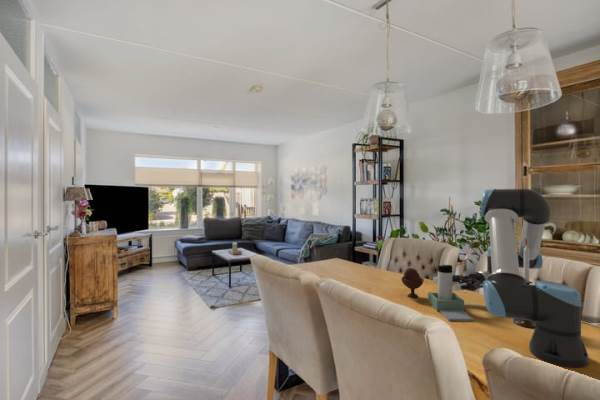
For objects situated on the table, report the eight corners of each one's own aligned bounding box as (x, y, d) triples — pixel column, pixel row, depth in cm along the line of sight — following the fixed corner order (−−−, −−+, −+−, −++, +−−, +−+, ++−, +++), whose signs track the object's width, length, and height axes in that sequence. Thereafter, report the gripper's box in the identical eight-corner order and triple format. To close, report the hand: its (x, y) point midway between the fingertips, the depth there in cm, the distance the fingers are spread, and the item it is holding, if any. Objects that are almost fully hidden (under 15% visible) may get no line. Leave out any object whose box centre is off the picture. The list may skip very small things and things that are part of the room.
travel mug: (444, 310, 148) (444, 266, 148) (435, 305, 155) (434, 263, 154) (456, 308, 150) (455, 265, 149) (446, 303, 156) (445, 262, 156)
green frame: (464, 311, 146) (464, 300, 146) (436, 311, 147) (436, 300, 147) (453, 302, 158) (453, 292, 158) (428, 302, 159) (428, 292, 158)
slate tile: (473, 321, 135) (473, 318, 135) (448, 320, 136) (448, 318, 136) (462, 312, 145) (462, 310, 145) (440, 312, 146) (440, 309, 146)
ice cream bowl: (425, 300, 162) (425, 270, 161) (402, 299, 164) (402, 269, 164) (422, 293, 172) (422, 265, 172) (400, 292, 174) (400, 265, 174)
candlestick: (505, 318, 138) (505, 235, 137) (534, 319, 136) (533, 236, 135) (518, 328, 127) (518, 239, 126) (549, 330, 125) (549, 239, 125)
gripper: (502, 295, 146) (463, 299, 140) (460, 280, 170) (426, 284, 164) (502, 278, 146) (463, 282, 140) (460, 266, 170) (426, 269, 164)
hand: (443, 283), depth 152 cm, fingers open, 13 cm apart
